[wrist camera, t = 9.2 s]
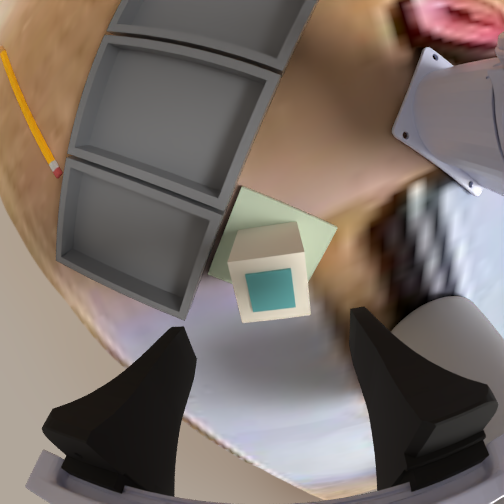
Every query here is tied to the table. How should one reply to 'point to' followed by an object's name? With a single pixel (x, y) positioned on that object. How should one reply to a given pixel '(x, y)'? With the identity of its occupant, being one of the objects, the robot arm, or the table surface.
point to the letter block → (269, 273)
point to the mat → (270, 213)
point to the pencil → (29, 115)
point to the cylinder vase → (459, 347)
